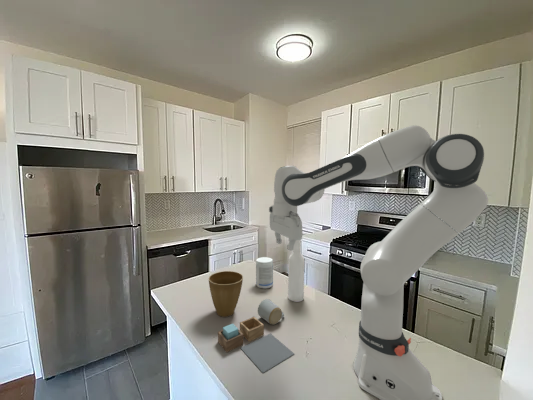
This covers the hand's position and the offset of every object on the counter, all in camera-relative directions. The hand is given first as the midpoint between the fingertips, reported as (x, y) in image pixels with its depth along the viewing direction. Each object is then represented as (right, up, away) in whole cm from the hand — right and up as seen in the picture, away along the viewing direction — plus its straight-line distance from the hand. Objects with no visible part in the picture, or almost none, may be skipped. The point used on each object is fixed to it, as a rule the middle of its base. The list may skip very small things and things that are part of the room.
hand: (284, 246), depth 87 cm
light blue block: (-19, -33, -5) cm, 39 cm away
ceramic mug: (-4, -33, +10) cm, 35 cm away
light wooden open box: (-12, -34, +1) cm, 36 cm away
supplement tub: (-8, -31, +43) cm, 53 cm away
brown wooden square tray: (-19, -34, -5) cm, 39 cm away
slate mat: (-6, -34, -9) cm, 36 cm away
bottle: (+8, -32, +28) cm, 43 cm away
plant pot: (-25, -32, +15) cm, 43 cm away
